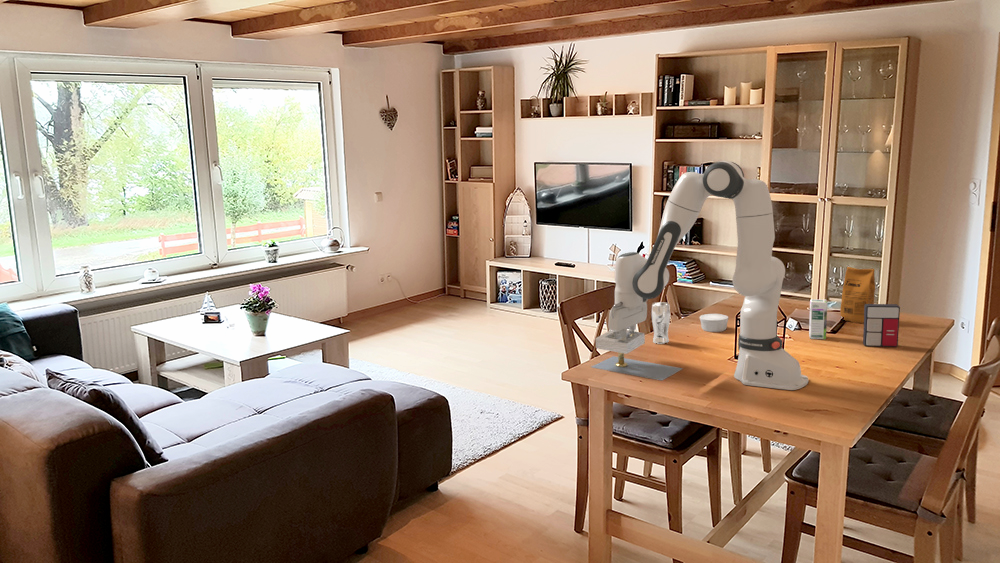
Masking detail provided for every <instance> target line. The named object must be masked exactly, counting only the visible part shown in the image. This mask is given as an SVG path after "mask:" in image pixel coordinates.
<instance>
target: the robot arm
mask: <svg viewBox="0 0 1000 563" xmlns="http://www.w3.org/2000/svg"><path fill="white" fill-rule="evenodd" d="M671 190H672V191H671V192H670V194H669V196H668V198H667V201H666V203H665V206H664V210H663V213H662V218H661V221H660V225H659V226H660V227H659V229H658V234H657V236H656V239H655V242H654V244H653V247H652V249H651V251H650V254H649V256H648V258H646V257H645V256H642V255H641V254H640V253H639V252H636V251H635V252H634V251H631V252H630V251H629V252H625V253H622V254H620V255H618V257H617V258H616V259H615V263H614V264H615V265H614V281H615V288H614V304H613V305H612V308H611V309H610V311H609V314H608V325H607V326H608V327H607V328H608V331H613V332H619V331H620V333H621V335H622V339H623V340H626V339H628V335H627V333H626V331H627V330H628V331H634V332H636V327H637V324H640V323H642V322H644V321H645V322H646V320H647V316H648V303H647V302H648V300H651V299H656V298H657V297H659V296H660V295H661V293H662V292H663V290H664V289H665V287H666V286H667V285H668V283H669V282H670V275H671V274H670V271H669V269H668V268H667V265H668V263H669V261H670V259H671V256H672V255H673V252H674V249H675V248H676V247H677V245H678V244H679V242H680V241H681V240H682V239H683V238H684V237H685V236H686V235H687V233H688V232H689V231H690V230H692V227H693V226H694V224H695V223H696V221H697V219H698V218H699V215H700V213H701V211H702V208H703V206H704V204H705V202H706V200H707V199H708V198H709V197H710V196H714V197H718V198H724V199H728V200H729V199H730V200H732V201H733V203H734V209H735V220H736V221H735V222H736V233H737V234H736V235H737V250H736V259H735V268H734V273H733V275H732V285H733V288H734V290H735V291H736V292H737V293H738V294H739V295H741V296H744V298H743V303H742V307H741V308H740V319H739V320H740V321H739V325H740V326H739V333H738V340H737V346H738V347H737V348H738V358H737V363H736V367H735V370H734V371H735V372H734V374H733V377H734V379H736V380H737V381H740V382H741V384H743V385H745V386H753V387H759V388H761V387H762V388H767V389H768V388H770V389H779V390H786V391H787V390H788V391H795V390H799V389H802V388H804V387H806V386H807V385H808V383H809V377H808V376H807V375H805V374H802V368H801V365H800V362H799V360H797V359H796V358H795V357H794V356H793V355H791V354H790V353H789V352H788V351H786V350H785V348H783V343H784V340H785V339H784V337H783V338H780V337H779V336H778V334H777V330H778V329H777V325H778V309H779V304H780V299H781V293H782V288H783V287H782V286H783V281H784V279H785V278H784V277H785V276H786V275H785V274H786V267H785V265H784V262H783V261H782V260H781V259H779V258H778V257H775V256H773V246H774V242H775V239H776V234H775V233H776V232H775V222H774V213H773V212H774V210H773V202H772V199H771V194H770V190H769V186H768V184H767V183H766V182H765V181H764V180H760V179H757V178H751V179H748V178H745V174H744V171H743V169H742V167H741V166H740V165H739V164H737V163H736V162H733V161H730V160H720V161H716V162H713V163H711V164H710V165H709V166H707V168H706V169H705V171H704V172H703V173H699V172H695V171H688V172H687V171H686V172H684V173H682V174H681V176H680V177H679V178H678V180H677V181H676V183H675V184H674V186H673V188H672V189H671Z"/></svg>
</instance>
